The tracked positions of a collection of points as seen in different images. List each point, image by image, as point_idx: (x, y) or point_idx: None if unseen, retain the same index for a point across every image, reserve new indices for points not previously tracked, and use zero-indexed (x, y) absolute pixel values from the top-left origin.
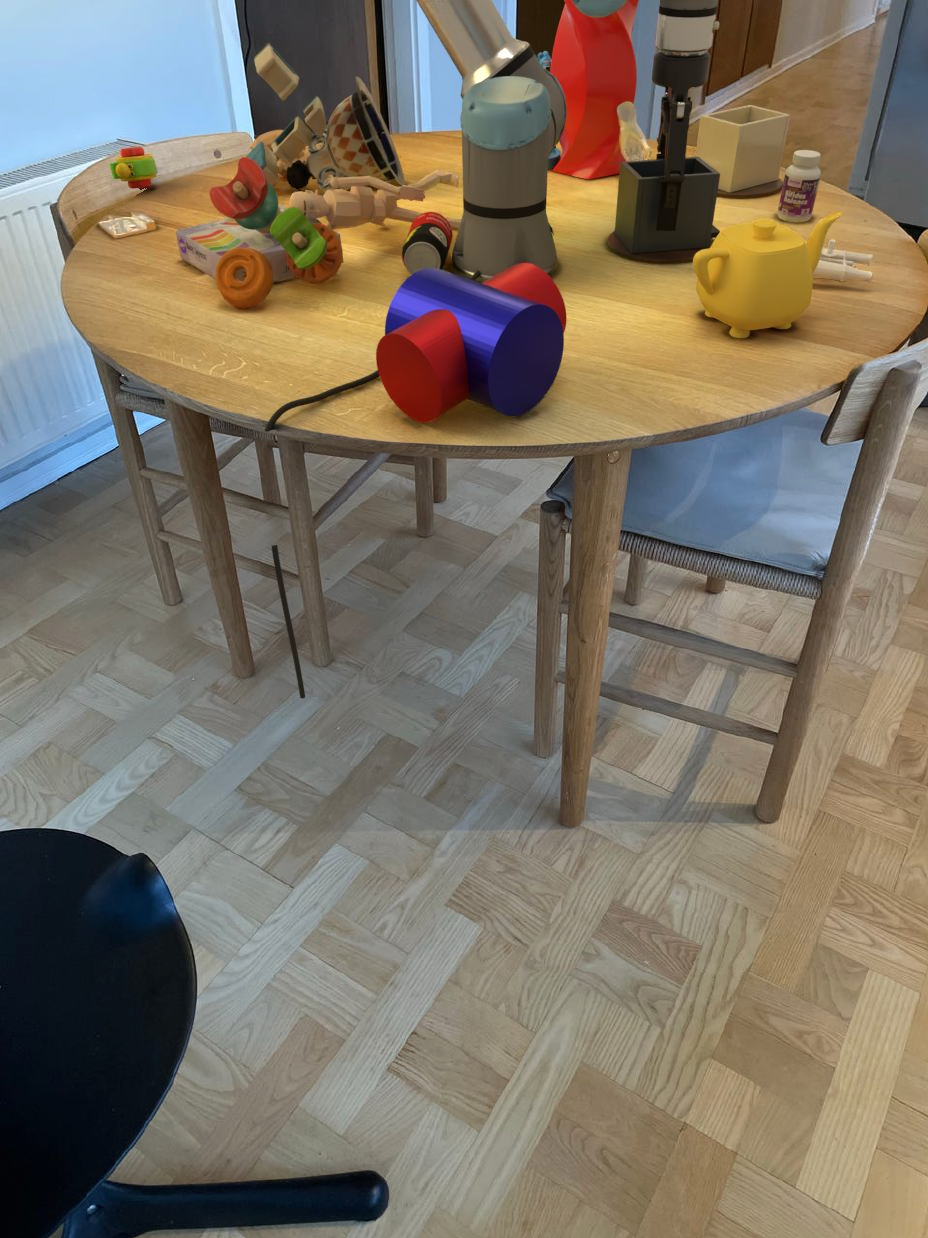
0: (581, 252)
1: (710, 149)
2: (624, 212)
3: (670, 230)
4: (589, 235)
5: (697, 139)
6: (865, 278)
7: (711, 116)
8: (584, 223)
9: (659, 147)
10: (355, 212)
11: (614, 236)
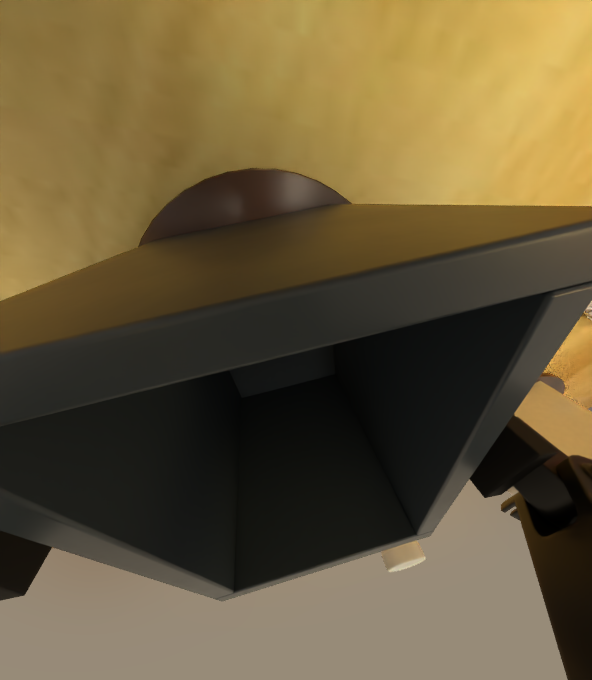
0: (172, 9)
1: (572, 440)
2: (259, 227)
3: None
4: (361, 106)
5: None
6: None
7: None
8: (470, 107)
9: (583, 497)
10: None
11: (306, 200)
